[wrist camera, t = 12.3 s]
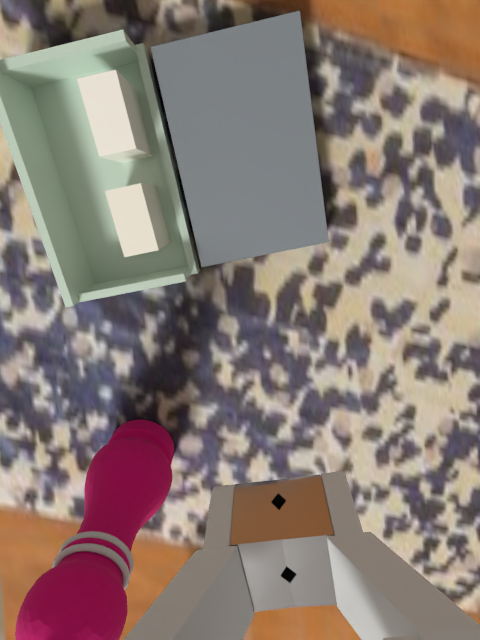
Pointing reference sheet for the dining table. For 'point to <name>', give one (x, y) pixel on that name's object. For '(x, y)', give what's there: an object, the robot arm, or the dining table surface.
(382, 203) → the dining table surface
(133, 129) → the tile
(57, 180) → the bin
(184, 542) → the dining table surface
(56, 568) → the pepper mill
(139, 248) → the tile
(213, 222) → the slate plate
